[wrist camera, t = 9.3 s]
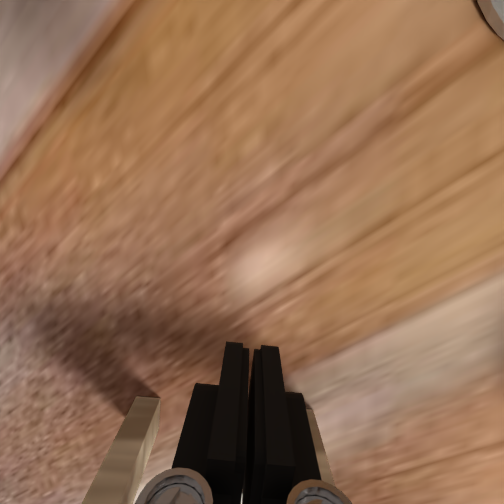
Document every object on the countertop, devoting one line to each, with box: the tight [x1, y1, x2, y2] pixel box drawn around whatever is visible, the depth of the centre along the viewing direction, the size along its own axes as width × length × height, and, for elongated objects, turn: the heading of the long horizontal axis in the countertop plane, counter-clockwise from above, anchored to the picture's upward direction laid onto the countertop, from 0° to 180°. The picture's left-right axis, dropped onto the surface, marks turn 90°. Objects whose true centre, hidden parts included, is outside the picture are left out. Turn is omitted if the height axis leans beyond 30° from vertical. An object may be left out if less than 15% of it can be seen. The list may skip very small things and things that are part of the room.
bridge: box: [82, 396, 336, 504], centre depth 21 cm, size 3×15×10 cm, turn 84°
